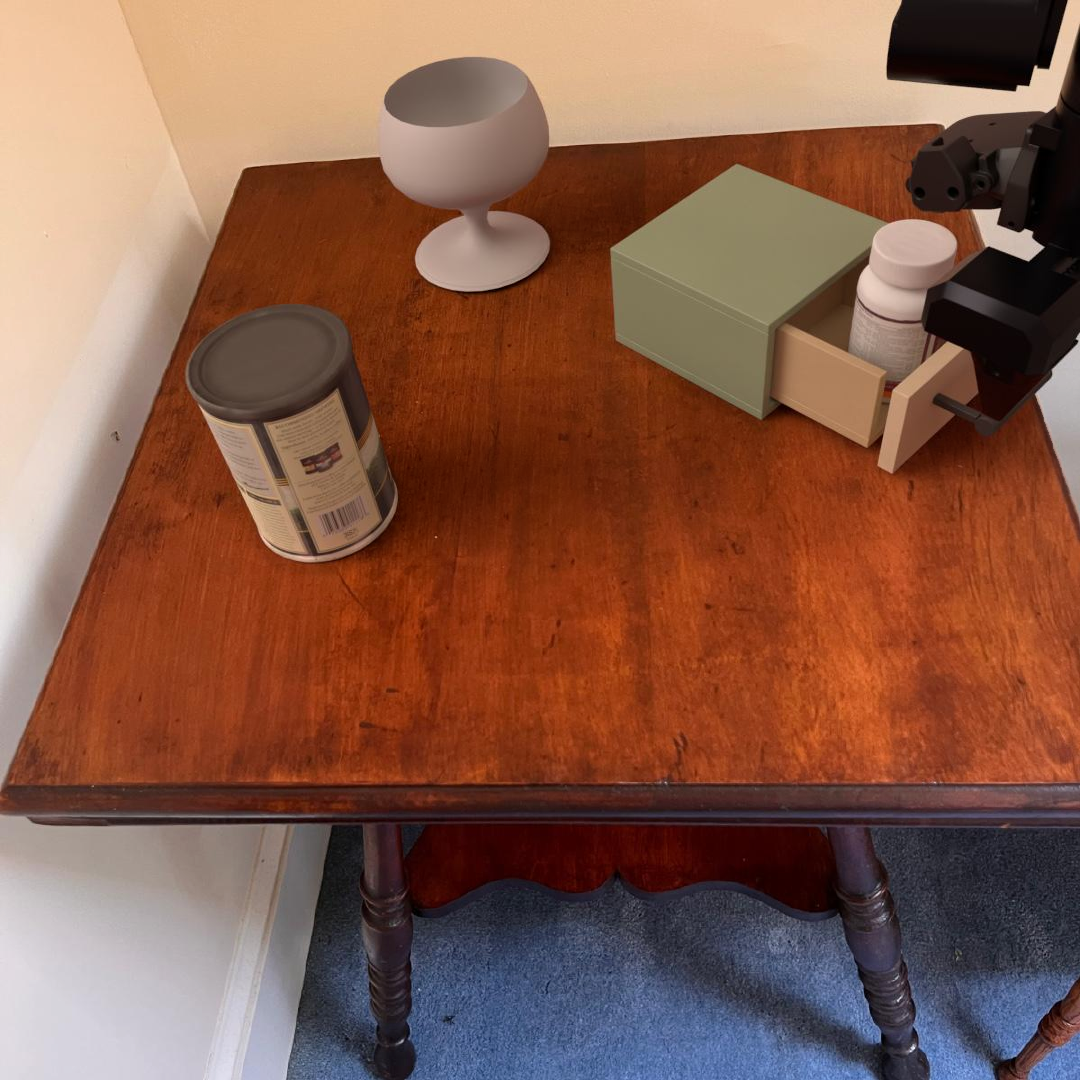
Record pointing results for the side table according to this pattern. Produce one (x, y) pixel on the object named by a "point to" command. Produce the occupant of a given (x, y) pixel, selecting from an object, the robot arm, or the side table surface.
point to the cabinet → (731, 279)
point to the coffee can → (296, 429)
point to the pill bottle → (899, 298)
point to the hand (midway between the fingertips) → (1037, 372)
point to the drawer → (870, 381)
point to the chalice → (468, 166)
